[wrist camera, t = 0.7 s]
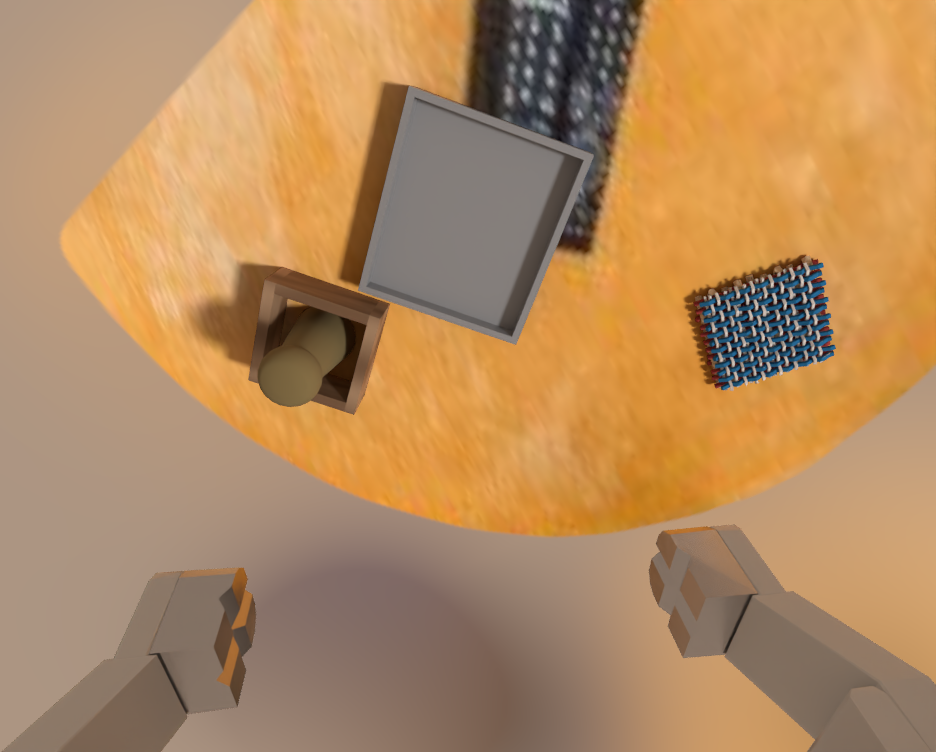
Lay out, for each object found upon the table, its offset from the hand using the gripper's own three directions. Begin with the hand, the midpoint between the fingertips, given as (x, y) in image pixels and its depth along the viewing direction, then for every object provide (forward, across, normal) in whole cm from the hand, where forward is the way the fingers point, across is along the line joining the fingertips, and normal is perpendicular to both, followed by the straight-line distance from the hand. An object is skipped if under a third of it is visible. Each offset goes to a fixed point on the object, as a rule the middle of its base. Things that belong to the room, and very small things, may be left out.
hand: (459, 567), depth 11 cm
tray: (+40, -5, +5) cm, 40 cm away
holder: (+42, +9, +16) cm, 46 cm away
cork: (+42, +9, +16) cm, 46 cm away
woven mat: (+35, -31, +13) cm, 48 cm away
